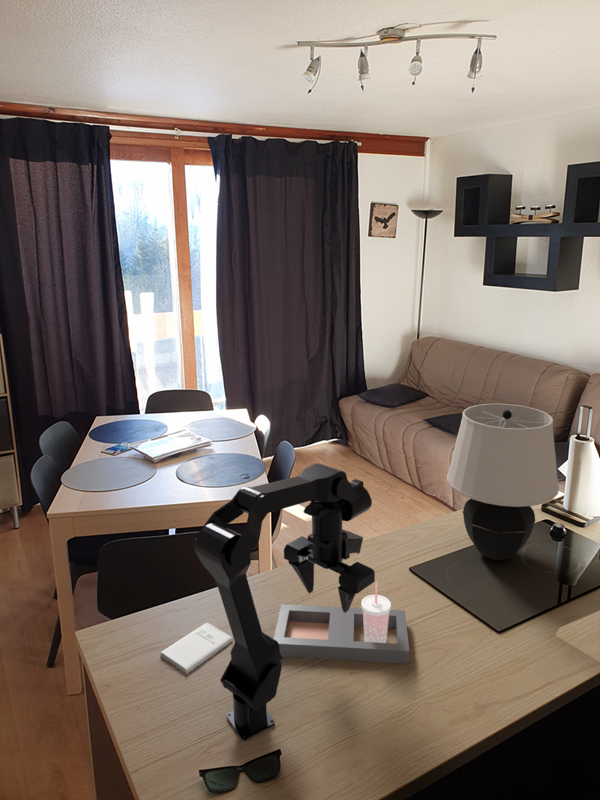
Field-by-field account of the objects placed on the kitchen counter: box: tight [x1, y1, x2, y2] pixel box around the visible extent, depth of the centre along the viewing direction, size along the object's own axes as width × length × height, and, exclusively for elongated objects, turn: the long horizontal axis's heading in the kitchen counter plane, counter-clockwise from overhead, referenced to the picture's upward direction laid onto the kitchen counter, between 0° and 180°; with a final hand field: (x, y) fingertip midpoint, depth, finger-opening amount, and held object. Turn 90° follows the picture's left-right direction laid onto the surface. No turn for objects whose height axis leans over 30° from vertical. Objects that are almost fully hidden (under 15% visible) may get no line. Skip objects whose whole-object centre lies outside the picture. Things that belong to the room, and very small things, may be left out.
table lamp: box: [446, 403, 560, 561], centre depth 150 cm, size 27×27×40 cm
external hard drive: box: [160, 622, 233, 675], centre depth 122 cm, size 2×8×12 cm
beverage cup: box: [360, 580, 392, 643], centre depth 122 cm, size 6×6×14 cm
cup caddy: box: [273, 603, 410, 665], centre depth 124 cm, size 27×13×3 cm, turn 84°
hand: (327, 601), depth 115 cm, fingers open, 9 cm apart
